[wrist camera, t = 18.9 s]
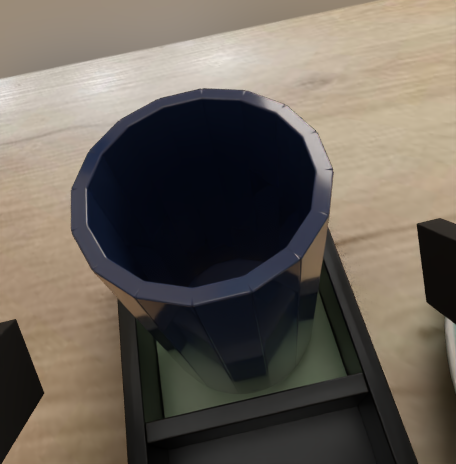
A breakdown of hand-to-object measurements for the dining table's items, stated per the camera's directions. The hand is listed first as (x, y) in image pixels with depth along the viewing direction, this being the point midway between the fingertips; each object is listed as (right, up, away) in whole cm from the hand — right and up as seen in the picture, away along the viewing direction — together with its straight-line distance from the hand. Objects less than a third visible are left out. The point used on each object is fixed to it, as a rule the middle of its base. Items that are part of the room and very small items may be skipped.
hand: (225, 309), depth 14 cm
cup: (+1, -2, +9) cm, 9 cm away
